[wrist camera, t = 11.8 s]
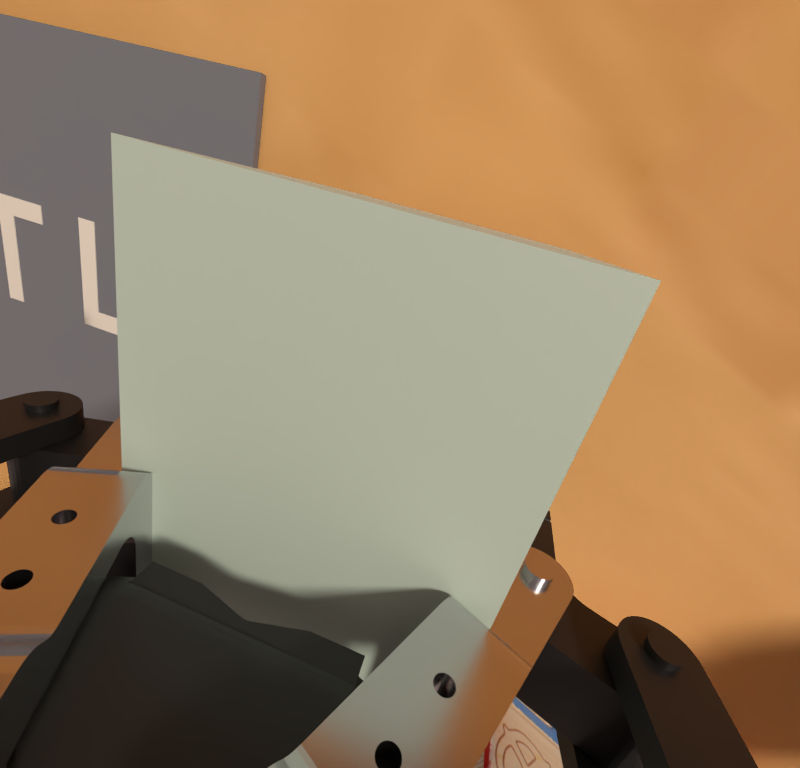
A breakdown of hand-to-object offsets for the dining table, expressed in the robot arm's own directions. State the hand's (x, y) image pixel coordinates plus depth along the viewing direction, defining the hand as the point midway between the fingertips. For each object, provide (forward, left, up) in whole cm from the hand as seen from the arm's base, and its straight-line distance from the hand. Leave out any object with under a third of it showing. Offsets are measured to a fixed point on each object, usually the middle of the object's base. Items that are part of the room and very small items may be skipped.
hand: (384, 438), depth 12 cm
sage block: (0, 0, -2) cm, 2 cm away
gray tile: (0, +17, -5) cm, 18 cm away
